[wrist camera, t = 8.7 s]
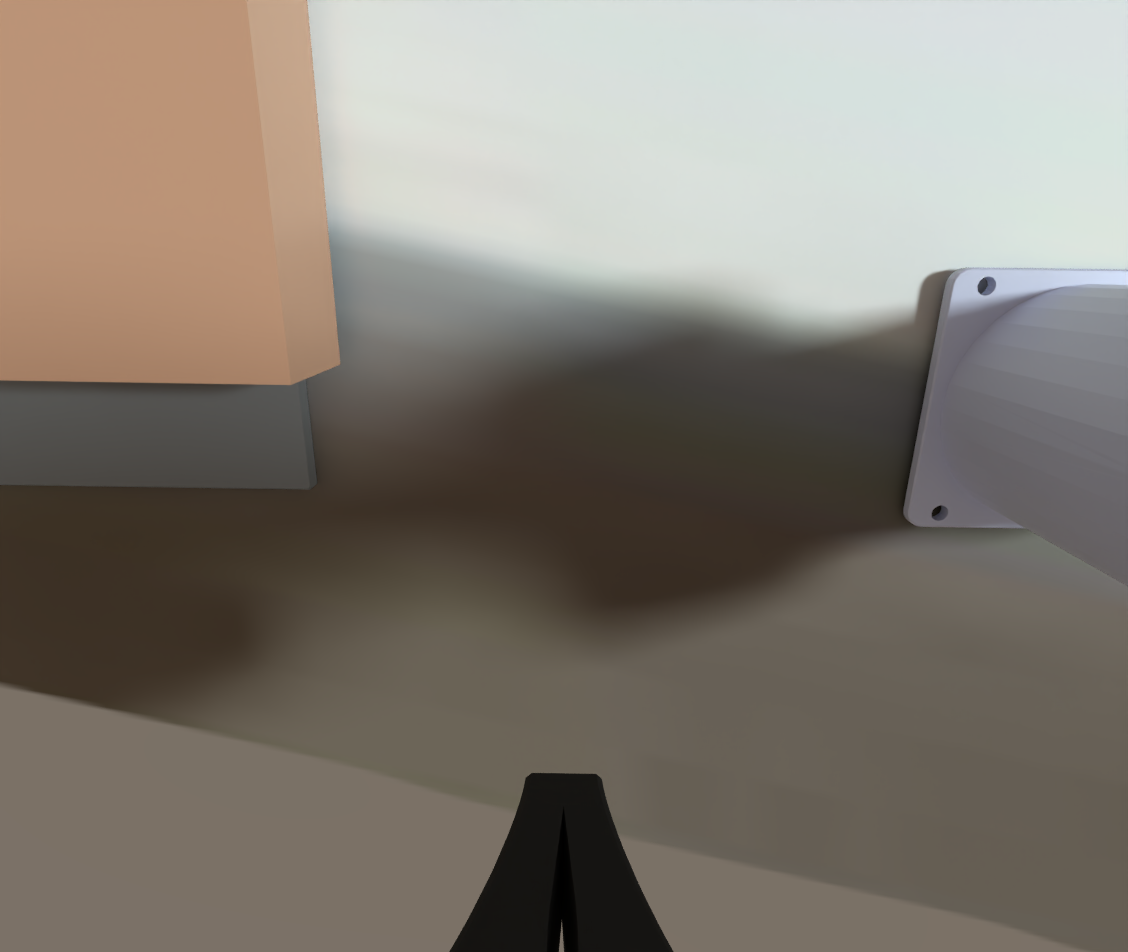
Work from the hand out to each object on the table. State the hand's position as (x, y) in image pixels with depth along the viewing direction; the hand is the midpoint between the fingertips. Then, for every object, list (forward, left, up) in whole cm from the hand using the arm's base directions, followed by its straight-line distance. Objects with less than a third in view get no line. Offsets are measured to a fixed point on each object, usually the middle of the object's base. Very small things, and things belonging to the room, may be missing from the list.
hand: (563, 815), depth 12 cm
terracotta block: (+7, -12, -8) cm, 16 cm away
